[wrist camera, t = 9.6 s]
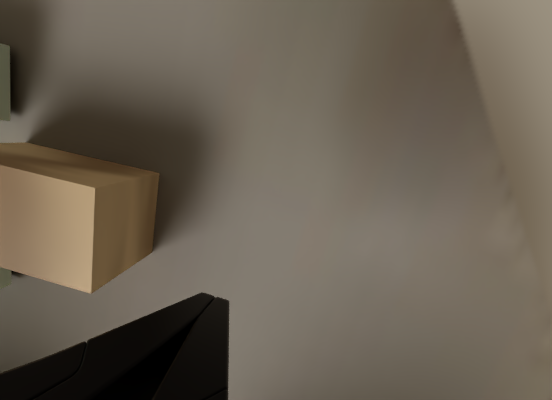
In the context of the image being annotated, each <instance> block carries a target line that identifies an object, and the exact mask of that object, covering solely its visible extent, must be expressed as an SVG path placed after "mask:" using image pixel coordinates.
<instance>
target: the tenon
mask: <svg viewBox="0 0 552 400" xmlns="http://www.w3.org/2000/svg"><path fill="white" fill-rule="evenodd" d="M158 183H159V173H156V172H152V171H148V170H143V169H139V168H135V167H130V166H126V165H122V164H117V163H113V162H109V161H104V160H100V159H96V158H91V157H87V156H83V155H78V154H74V153H70V152H65V151H61V150H57V149H52V148H48V147H44V146H39V145H35V144H31V143H0V267H1V268H5V269H8V270H12V271H15V272H18V273H22V274H25V275H29V276H32V277H36V278H39V279H42V280H46V281H49V282H53V283H56V284H60V285H63V286H67V287H70V288H73V289H77V290H80V291H84V292H87V293H93V292H94V291H96V290H97V289H99V288H100V287H102V286H103V285H105V284H106V283H108V282H109V281H111V280H112V279H114V278H115V277H116V276H118V275H119V274H121V273H122V272H124V271H125V270H127V269H128V268H130V267H131V266H133V265H134V264H136V263H137V262H139V261H140V260H142V259H143V258H145V257H146V256H147V255H149V254H150V253H152V247H153V236H154V225H155V215H156V204H157V194H158Z"/></svg>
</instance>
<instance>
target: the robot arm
mask: <svg viewBox="0 0 552 400" xmlns="http://www.w3.org/2000/svg"><path fill="white" fill-rule="evenodd" d="M228 363H229V301H228V300H226V299H222V298H219V297H216V298H215V297H214V296H213V295H209V294H206V293H199V294H197V295H194V296H192V297H190V298H187V299H185V300H182V301H180V302H178V303H175V304H173V305H171V306H168V307H166V308H163V309H161V310H159V311H156V312H154V313H151V314H149V315H147V316H144V317H142V318H139V319H137V320H135V321H132V322H130V323H127V324H125V325H123V326H120V327H118V328H115V329H113V330H111V331H108V332H106V333H103V334H101V335H99V336H96V337H94V338H91V339H89V340H88V341H87V343H86V342H85V341H84V342H81V343H79V344H77V345H74V346H72V347H69V348H67V349H65V350H62V351H59V352H57V353H54V354H52V355H49V356H47V357H44V358H42V359H39V360H36V361H34V362H31V363H28V364H25V365H22V366H20V367H17V368H14V369H11V370H8V371H6V372H3V373H0V400H228Z"/></svg>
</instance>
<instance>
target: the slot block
mask: <svg viewBox="0 0 552 400" xmlns="http://www.w3.org/2000/svg"><path fill="white" fill-rule="evenodd" d="M0 120H6V121H10V46H8V45H5V44H1V43H0ZM10 284H11V270H8V269H5V268H1V267H0V289H1V288H4V287H6V286H8V285H10Z"/></svg>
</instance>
